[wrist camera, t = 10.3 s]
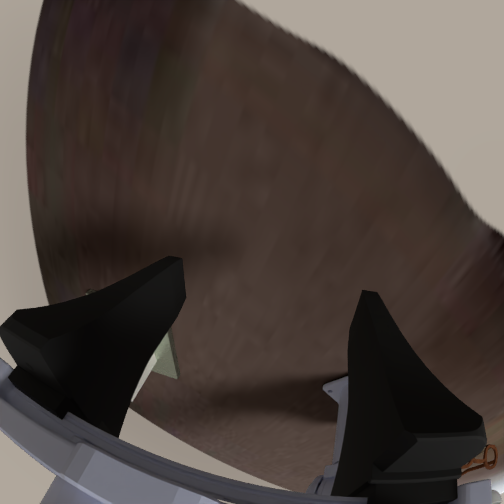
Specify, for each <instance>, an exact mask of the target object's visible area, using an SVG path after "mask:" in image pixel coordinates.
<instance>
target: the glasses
mask: <svg viewBox="0 0 504 504" xmlns="http://www.w3.org/2000/svg"><path fill="white" fill-rule="evenodd" d="M489 448H492V449H493V450H494V454H495V459H494V460H493V461H490V462H487V451H488V449H489ZM497 458H498V453H497V449H496V447H495V445H488V446H486V448H485V451H484V457H483V460H480V459H475V458H473V459H472V460H470V461H469V462H468V464H467V465H463V466H462V467H461V468H463V469H465V468H468V467H469V466H470V465H471V464H472V463H484V464H481V465H478V466H475V467H472V468H469V469H467V470H465V471H464V472H462V475H464V474H466V473H467V472H469V471H473V470H476V469H479V468H482V467H486V468H487V469H489V470H490V469H493V468H494V467H495V466H496V463H497ZM491 464H493V465H492V466H489V465H491ZM462 475H461V476H462Z"/></svg>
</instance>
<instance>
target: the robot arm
mask: <svg viewBox="0 0 504 504" xmlns="http://www.w3.org/2000/svg"><path fill="white" fill-rule="evenodd" d="M185 299H186V291H185V281H184V271H183V260H182V258H178V257H173V256H168V257H165V258H163V259H161V260H159V261H157V262H155V263H153V264H151V265H150V266H148V267H146V268H144V269H142V270H140V271H138V272H136V273H135V274H133V275H131V276H129V277H127V278H125V279H123V280H121V281H118V282H116V283H114V284H112V285H110V286H108V287H106V288H104V289H101V290H99V291H96V292H94V293H91V294H88V295H85V296H82V297H79V298H76V299H73V300H69V301H66V302H62V303H58V304H54V305H49V306H44V307H37V308H29V309H20V310H16V311H15V312H14V313H13V314H12V315H11V316H10V317H9V318H8V319H7V320H6V321H5V322H4V323H3V324H2V325H1V326H0V337H1V339H2V341H3V343H4V344H5V346H6V348H7V350H8V351H9V353H10V354H11V356H12V358H13V359H14V360H15V362H16V364H17V366H16V368H15V369H13V368H12V367H11V366H10V365H9V364H8V363H6V362H5V361H4V360H3V359H1V358H0V430H1V431H2V432H3V433H4V434H5V435H7V436H8V437H9V438H10V439H11V440H12V441H13V442H14V443H15V444H17V445H18V446H19V447H20V448H21V449H23V450H24V451H25V452H26V453H28V454H29V455H30V456H31V457H32V458H34V459H35V460H36V461H38V462H39V463H40V464H41V465H43V466H44V467H46V468H47V469H48V470H50V471H51V472H52V473H54V474H55V475H56V477H55V479H54V481H53V482H52V484H51V486H50V488H49V489H48V491H47V493H46V494H45V496H44V498H43V499H42V501H41V503H40V504H226V503H223V502H220V501H219V500H223V501H227V502H231V503H235V504H492V490H491V480H490V479H486V480H481V481H476V482H471V483H466V484H463V485H460V486H457V479H459V478H460V477H461V475H462V472H461V467H462V466H463V465H465V464H466V463H468V462H469V461H470V460H472V459H473V458H474V457H476V456H477V455H478V454H479V453H480V452H481V451H482V450H483V449H484V447H485V446H486V444H487V438H486V432H485V427H484V422H483V418H482V416H480V415H479V414H478V413H476V412H475V411H474V410H472V409H471V408H470V407H468V406H467V405H466V404H464V403H463V402H462V401H461V400H459V399H458V398H457V397H456V396H455V395H454V394H453V393H451V392H450V391H449V390H448V389H447V388H446V387H445V386H444V385H443V384H442V383H441V382H440V381H439V380H438V379H437V378H436V377H435V376H434V375H433V374H432V372H431V371H430V370H429V369H428V368H427V367H426V366H425V364H424V363H423V362H422V361H421V359H420V358H419V357H418V356H417V354H416V353H415V352H414V350H413V349H412V348H411V346H410V345H409V343H408V342H407V340H406V339H405V338H404V336H403V334H402V333H401V331H400V330H399V328H398V326H397V325H396V323H395V322H394V320H393V318H392V317H391V315H390V313H389V311H388V310H387V308H386V306H385V304H384V303H383V301H382V299H381V297H380V296H379V294H378V292H372V291H366V290H362V293H361V296H360V299H359V302H358V305H357V309H356V312H355V315H354V318H353V321H352V323H351V326H350V331H349V341H348V376H346V377H343V378H341V379H338V380H335V381H332V382H329V383H327V384H324V385H323V390H324V391H325V392H326V393H327V394H328V395H329V396H331V397H332V398H333V399H334V400H335V401H336V402H337V403H338V404H339V408H338V419H337V428H336V437H335V446H334V454H333V461H332V465H327V466H325V471H324V475H320V476H318V477H316V478H315V479H314V481H313V482H312V483H311V484H310V485H309V487H308V489H307V491H306V493H300V492H293V491H287V490H280V489H275V488H269V487H263V486H259V485H254V484H250V483H245V482H241V481H237V480H233V479H229V478H225V477H221V476H217V475H214V474H211V473H207V472H204V471H201V470H197V469H194V468H191V467H188V466H185V465H182V464H179V463H177V462H174V461H171V460H168V459H166V458H163V457H161V456H158V455H155V454H153V453H150V452H148V451H145V450H143V449H141V448H139V447H136V446H134V445H132V444H130V443H127V442H125V441H123V440H121V439H119V435H120V431H121V428H122V425H123V422H124V419H125V416H126V413H127V410H128V408H129V405H130V402H131V400H132V397H133V395H134V392H135V390H136V388H137V385H138V383H139V381H140V379H141V376H142V374H143V372H144V370H145V368H146V366H147V364H148V362H149V360H150V359H151V357H152V355H153V354H154V352H155V350H156V349H157V347H158V346H159V344H160V343H161V341H162V340H163V338H164V337H165V335H166V334H167V332H168V331H169V329H170V327H171V326H172V324H173V323H174V321H175V320H176V318H177V316H178V314H179V312H180V310H181V308H182V306H183V303H184V301H185ZM217 499H219V500H217Z"/></svg>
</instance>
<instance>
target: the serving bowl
mask: <svg viewBox="0 0 504 504" xmlns="http://www.w3.org/2000/svg"><path fill="white" fill-rule="evenodd" d="M501 502H502V498H501V496H500V494H499V493H498V492H497V491H495V490H492V504H500V503H501Z"/></svg>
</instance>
